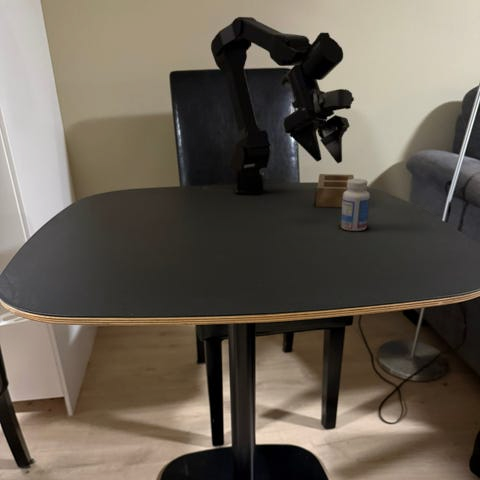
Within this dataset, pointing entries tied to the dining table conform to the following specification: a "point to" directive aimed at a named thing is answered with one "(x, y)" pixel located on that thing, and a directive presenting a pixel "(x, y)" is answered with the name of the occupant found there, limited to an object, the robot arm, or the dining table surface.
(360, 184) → the pill bottle
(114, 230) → the dining table surface
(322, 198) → the holder
